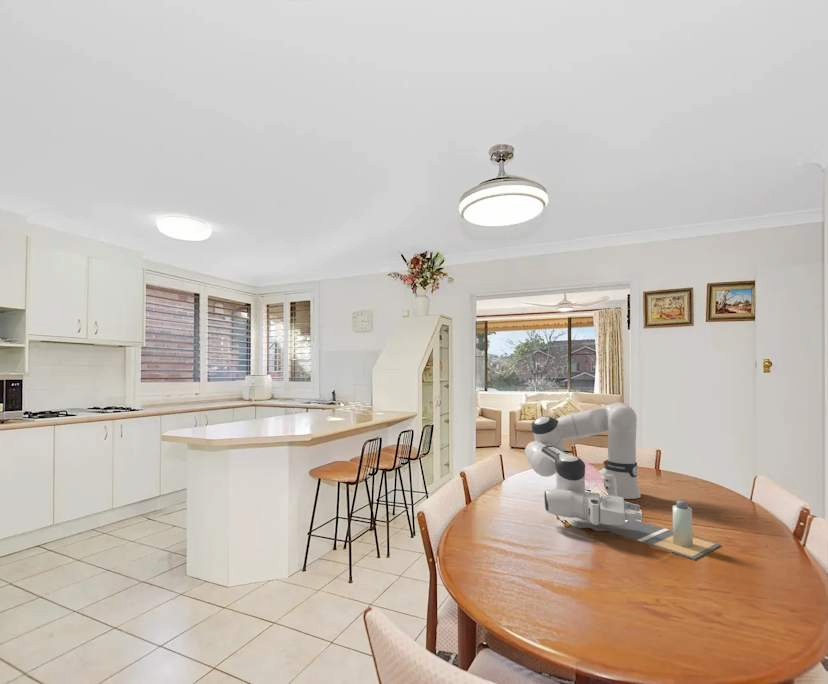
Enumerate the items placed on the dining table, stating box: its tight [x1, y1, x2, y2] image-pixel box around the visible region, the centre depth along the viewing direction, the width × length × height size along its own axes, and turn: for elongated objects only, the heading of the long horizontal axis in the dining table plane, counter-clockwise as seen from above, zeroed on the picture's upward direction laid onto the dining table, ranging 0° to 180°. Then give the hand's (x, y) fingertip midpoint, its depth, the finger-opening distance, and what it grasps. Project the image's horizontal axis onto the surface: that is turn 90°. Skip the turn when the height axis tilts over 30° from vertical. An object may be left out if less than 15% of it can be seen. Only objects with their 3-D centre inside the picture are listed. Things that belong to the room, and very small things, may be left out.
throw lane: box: [593, 520, 721, 561], centre depth 148 cm, size 32×18×1 cm, turn 36°
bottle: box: [672, 499, 694, 547], centre depth 141 cm, size 5×5×13 cm
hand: (640, 512), depth 146 cm, fingers open, 8 cm apart
